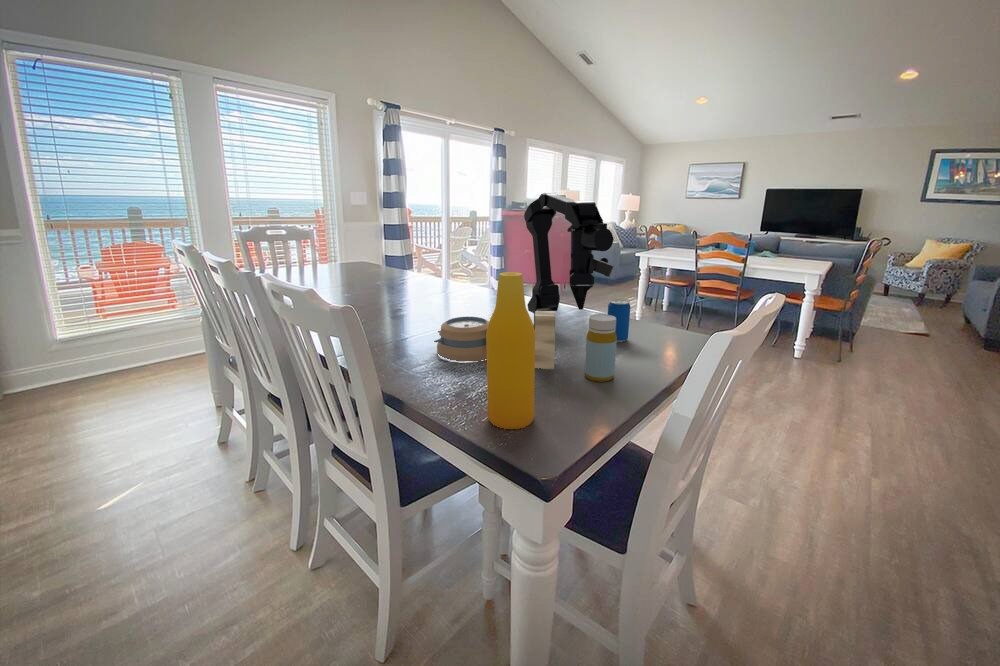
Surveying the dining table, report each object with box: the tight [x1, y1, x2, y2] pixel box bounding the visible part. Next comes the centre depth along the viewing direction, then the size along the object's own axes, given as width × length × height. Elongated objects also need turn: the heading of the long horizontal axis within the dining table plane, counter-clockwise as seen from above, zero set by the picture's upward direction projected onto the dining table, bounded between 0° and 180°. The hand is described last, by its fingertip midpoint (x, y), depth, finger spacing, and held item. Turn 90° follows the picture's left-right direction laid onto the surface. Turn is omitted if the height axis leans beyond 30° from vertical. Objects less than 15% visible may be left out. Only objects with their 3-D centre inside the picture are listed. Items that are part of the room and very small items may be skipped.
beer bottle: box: [486, 271, 536, 430], centre depth 84 cm, size 9×9×29 cm
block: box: [535, 311, 557, 370], centre depth 114 cm, size 5×5×14 cm
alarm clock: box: [433, 316, 490, 361], centre depth 125 cm, size 17×9×23 cm
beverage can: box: [607, 299, 631, 343], centre depth 134 cm, size 6×6×12 cm
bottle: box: [584, 313, 618, 383], centre depth 106 cm, size 7×7×15 cm
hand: (580, 306), depth 124 cm, fingers open, 9 cm apart
